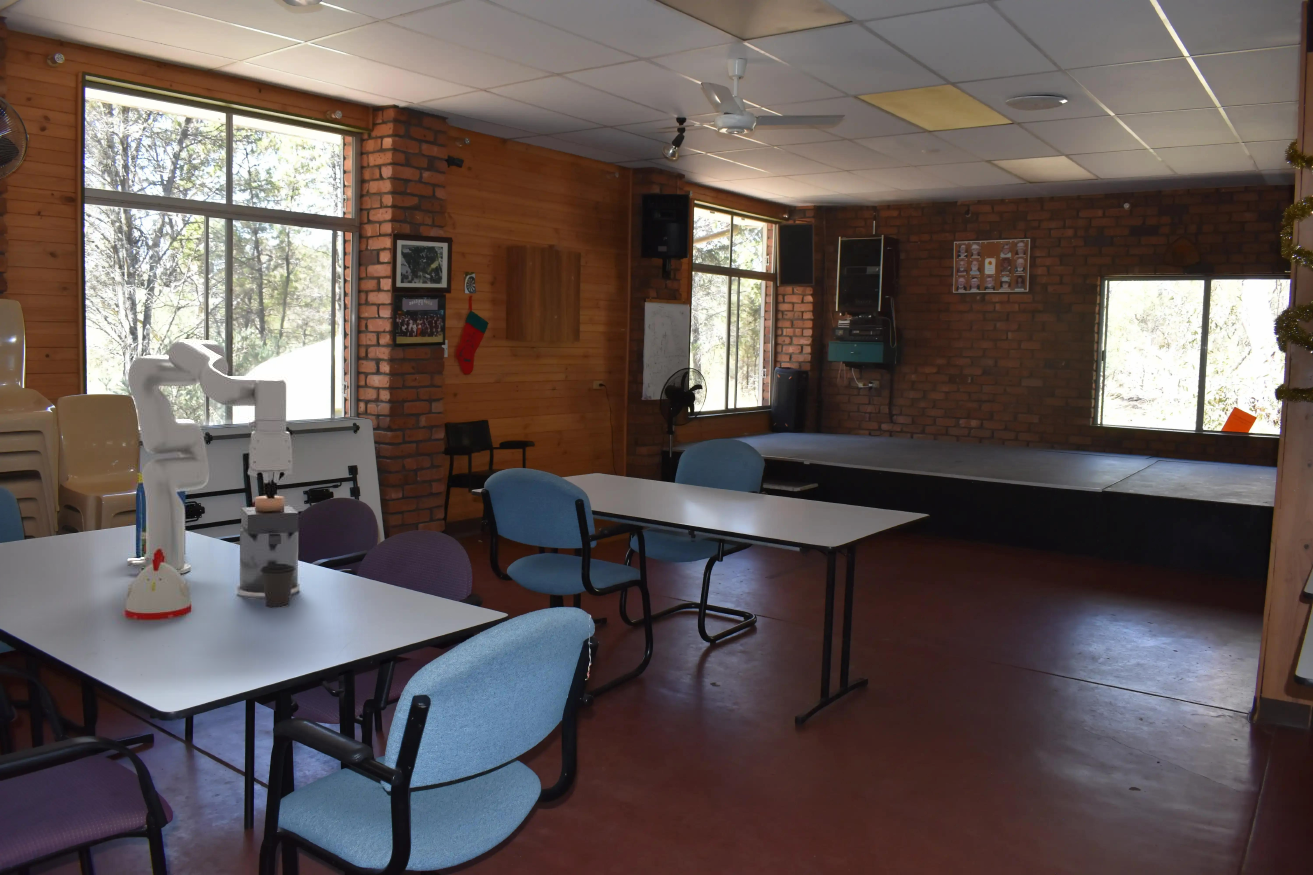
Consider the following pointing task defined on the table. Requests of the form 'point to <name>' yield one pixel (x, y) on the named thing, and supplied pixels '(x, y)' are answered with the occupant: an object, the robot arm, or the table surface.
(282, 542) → the airpot
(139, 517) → the blue food package
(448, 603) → the table surface
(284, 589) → the coffee cup
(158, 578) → the kitchen timer
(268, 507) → the button
